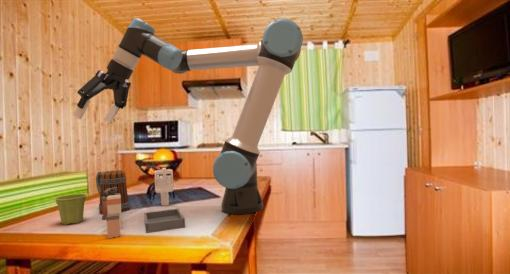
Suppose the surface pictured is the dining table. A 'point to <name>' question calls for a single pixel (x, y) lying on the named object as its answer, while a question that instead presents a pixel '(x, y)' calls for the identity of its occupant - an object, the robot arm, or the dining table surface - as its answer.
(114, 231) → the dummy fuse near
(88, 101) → the robot arm
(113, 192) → the lighter
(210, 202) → the dining table surface
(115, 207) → the block
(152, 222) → the tray
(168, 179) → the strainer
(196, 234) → the dining table surface
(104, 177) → the mug
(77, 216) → the plant pot
